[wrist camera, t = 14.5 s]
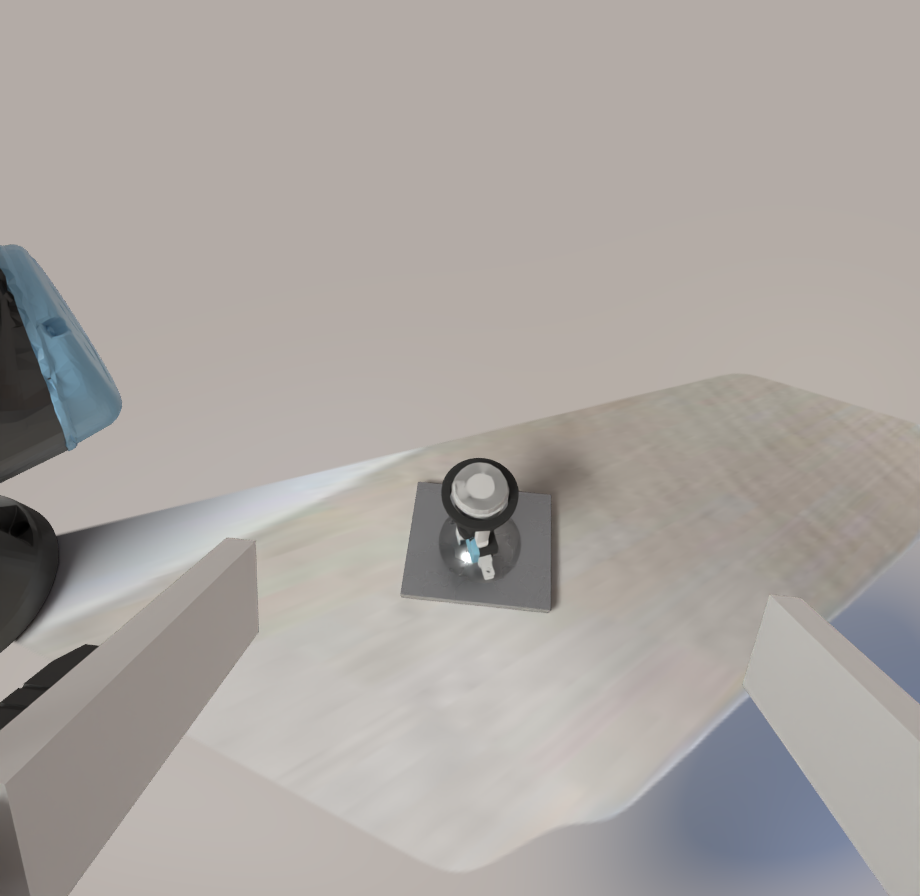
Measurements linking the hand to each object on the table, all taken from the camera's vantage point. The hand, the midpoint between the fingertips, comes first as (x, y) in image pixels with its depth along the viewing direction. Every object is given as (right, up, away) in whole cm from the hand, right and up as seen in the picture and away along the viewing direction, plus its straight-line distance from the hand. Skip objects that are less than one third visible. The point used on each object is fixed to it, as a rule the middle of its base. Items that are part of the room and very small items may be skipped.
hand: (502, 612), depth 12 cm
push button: (0, -4, +28) cm, 28 cm away
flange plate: (+1, -4, +29) cm, 29 cm away
